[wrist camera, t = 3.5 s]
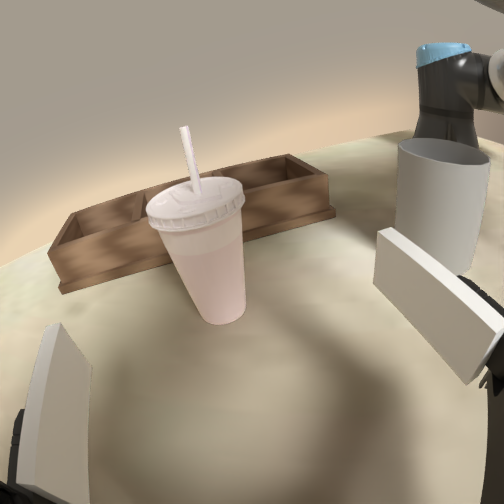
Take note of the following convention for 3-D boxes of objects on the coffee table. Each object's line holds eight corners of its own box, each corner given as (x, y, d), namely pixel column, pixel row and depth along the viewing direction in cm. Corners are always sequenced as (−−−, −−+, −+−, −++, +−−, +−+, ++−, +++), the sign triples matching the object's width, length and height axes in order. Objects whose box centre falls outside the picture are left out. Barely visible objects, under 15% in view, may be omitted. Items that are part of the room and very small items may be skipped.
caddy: (294, 185, 44) (290, 152, 41) (335, 216, 34) (334, 175, 31) (81, 244, 39) (68, 213, 36) (62, 294, 29) (42, 256, 26)
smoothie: (229, 350, 20) (171, 140, 13) (168, 319, 24) (106, 147, 16) (278, 295, 24) (253, 112, 17) (218, 275, 28) (181, 120, 20)
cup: (387, 270, 25) (395, 156, 19) (395, 226, 30) (399, 134, 25) (476, 284, 21) (502, 172, 15) (467, 236, 26) (480, 145, 21)
